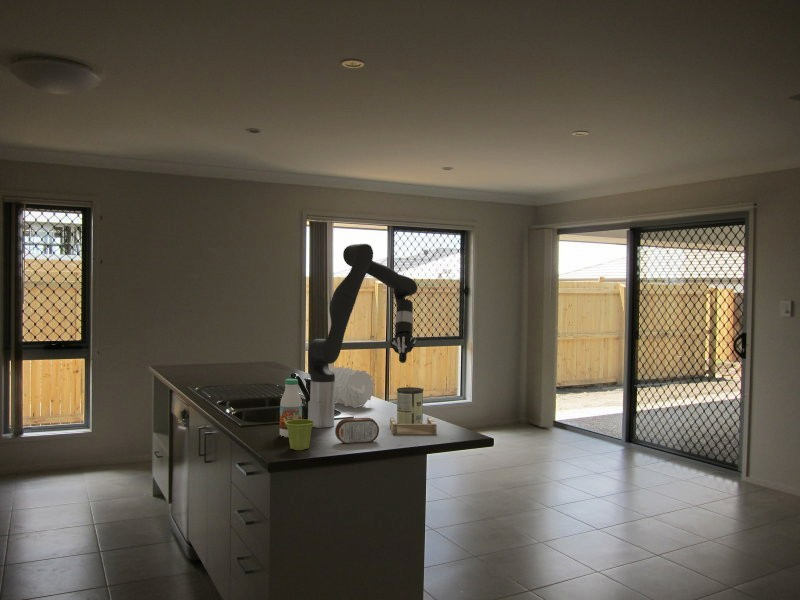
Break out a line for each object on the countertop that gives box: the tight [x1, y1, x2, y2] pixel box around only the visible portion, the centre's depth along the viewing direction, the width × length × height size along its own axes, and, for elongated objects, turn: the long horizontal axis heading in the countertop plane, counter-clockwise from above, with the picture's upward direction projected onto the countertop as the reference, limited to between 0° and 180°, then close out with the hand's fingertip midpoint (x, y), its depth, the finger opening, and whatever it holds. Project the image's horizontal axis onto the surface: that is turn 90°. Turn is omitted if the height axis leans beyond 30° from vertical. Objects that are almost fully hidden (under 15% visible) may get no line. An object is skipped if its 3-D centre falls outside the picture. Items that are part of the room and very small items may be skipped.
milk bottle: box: [279, 378, 303, 438], centre depth 231 cm, size 8×8×20 cm
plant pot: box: [285, 418, 314, 451], centre depth 211 cm, size 9×9×9 cm
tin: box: [334, 417, 380, 445], centre depth 221 cm, size 15×3×8 cm, turn 109°
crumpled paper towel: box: [329, 365, 375, 409], centre depth 298 cm, size 18×18×25 cm
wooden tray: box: [389, 417, 437, 435], centre depth 243 cm, size 14×16×4 cm
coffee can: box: [396, 386, 424, 424], centre depth 254 cm, size 10×10×14 cm
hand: (402, 362), depth 271 cm, fingers closed
